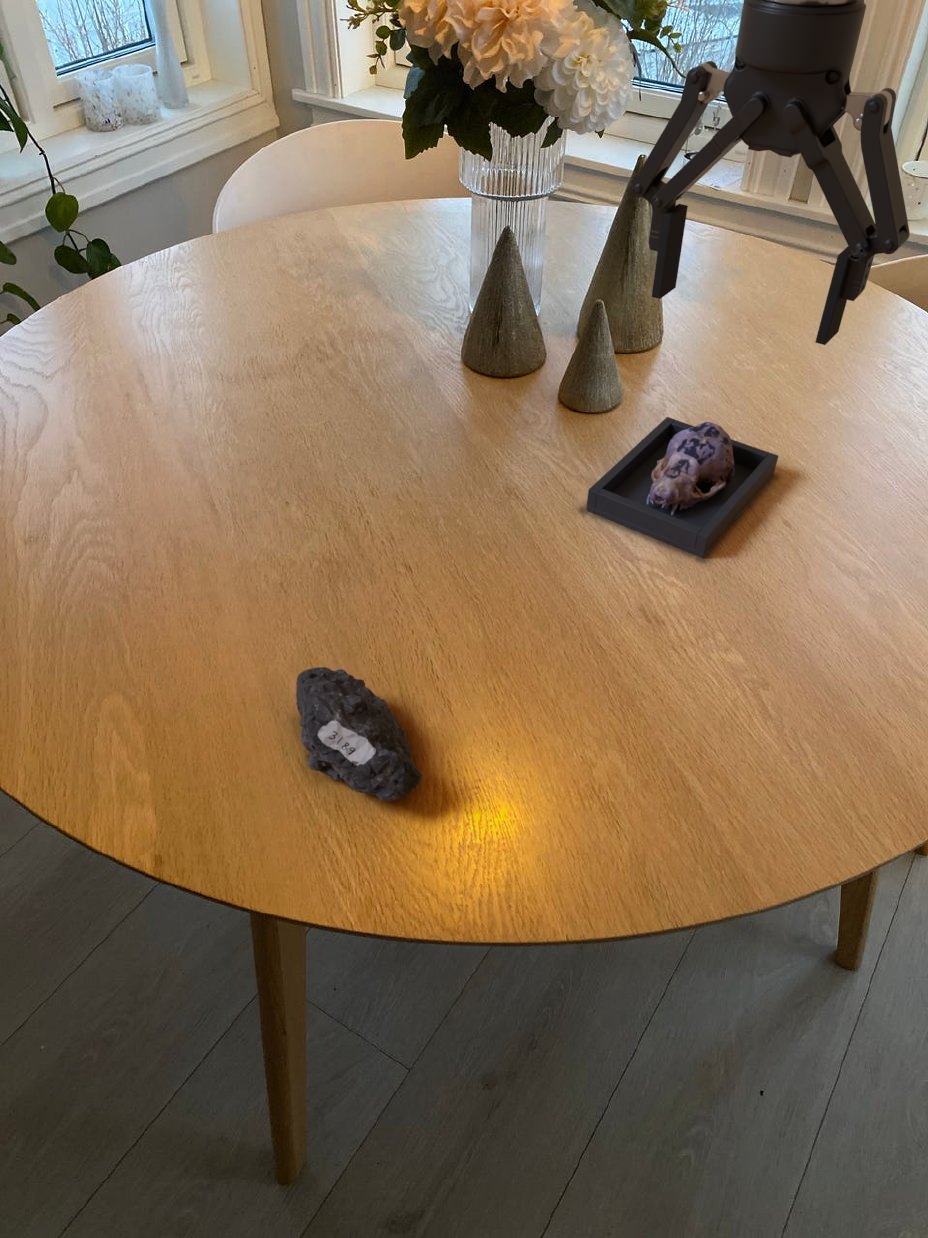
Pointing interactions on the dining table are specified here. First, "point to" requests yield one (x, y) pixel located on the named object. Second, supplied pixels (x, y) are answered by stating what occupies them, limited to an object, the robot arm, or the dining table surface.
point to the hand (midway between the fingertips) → (741, 314)
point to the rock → (354, 735)
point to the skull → (692, 466)
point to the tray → (686, 528)
